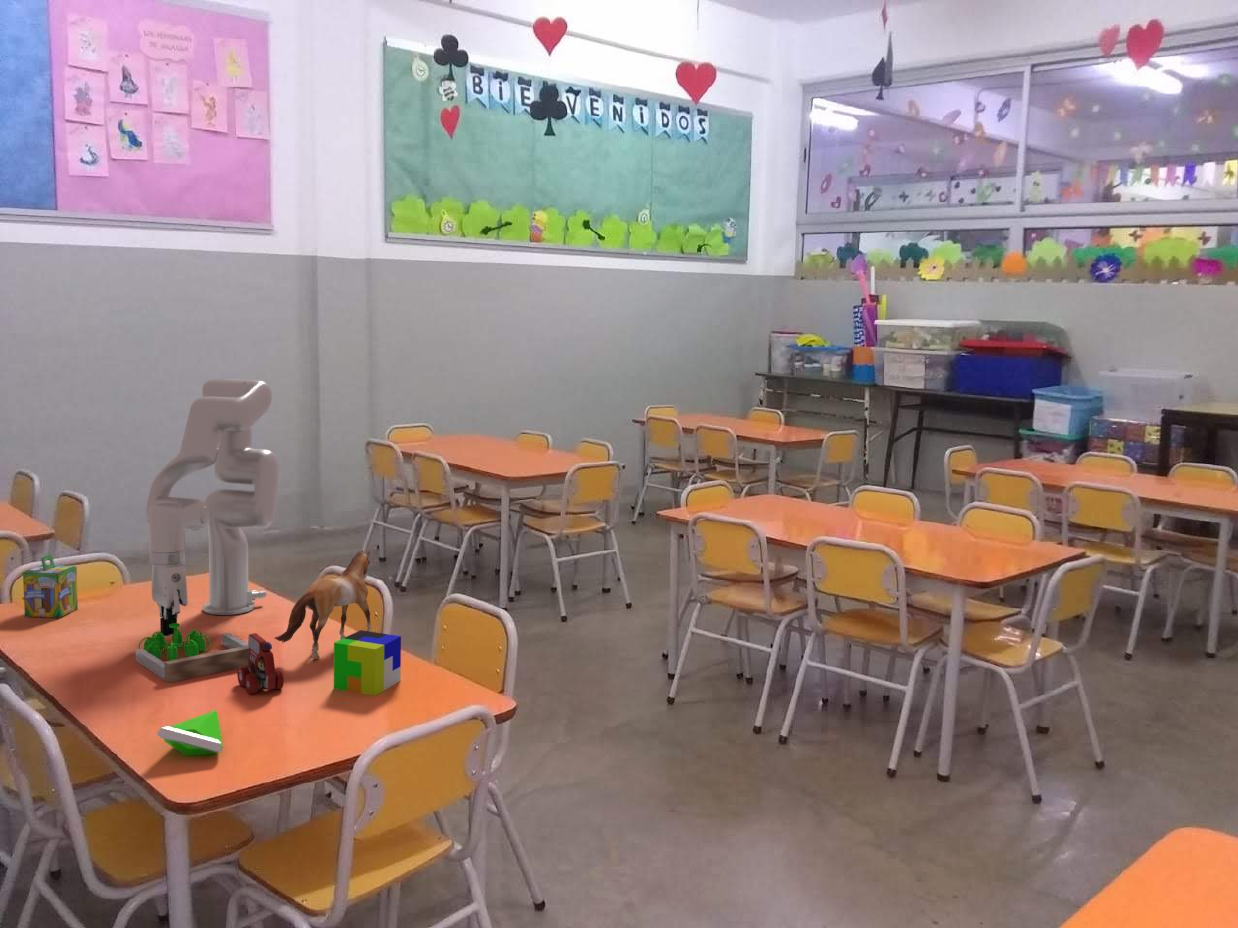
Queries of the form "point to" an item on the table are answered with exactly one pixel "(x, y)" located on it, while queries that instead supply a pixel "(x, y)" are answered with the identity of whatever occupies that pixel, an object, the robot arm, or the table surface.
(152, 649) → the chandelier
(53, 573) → the chalk box
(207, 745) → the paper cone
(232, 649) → the walnut bay
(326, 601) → the horse figurine
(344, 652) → the puzzle toy
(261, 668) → the toy fire truck
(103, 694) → the table surface
